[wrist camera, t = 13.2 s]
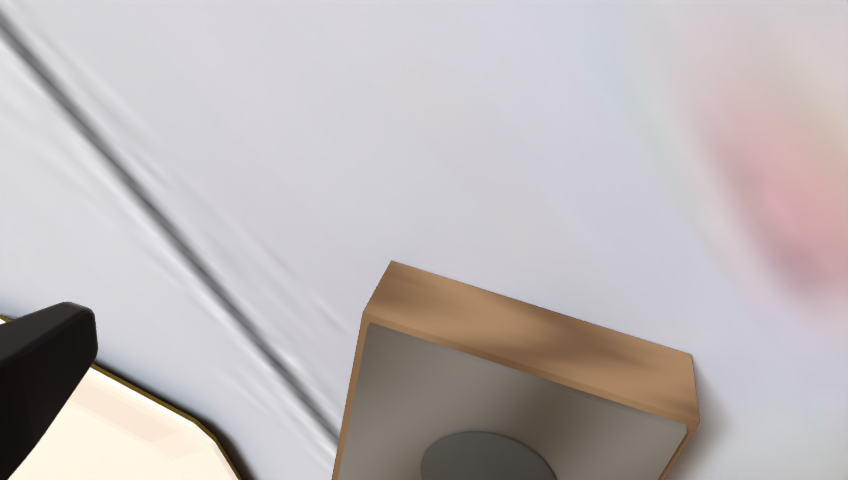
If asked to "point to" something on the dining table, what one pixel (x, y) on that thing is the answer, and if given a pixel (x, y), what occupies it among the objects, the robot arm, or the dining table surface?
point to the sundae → (482, 459)
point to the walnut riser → (507, 385)
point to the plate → (123, 438)
